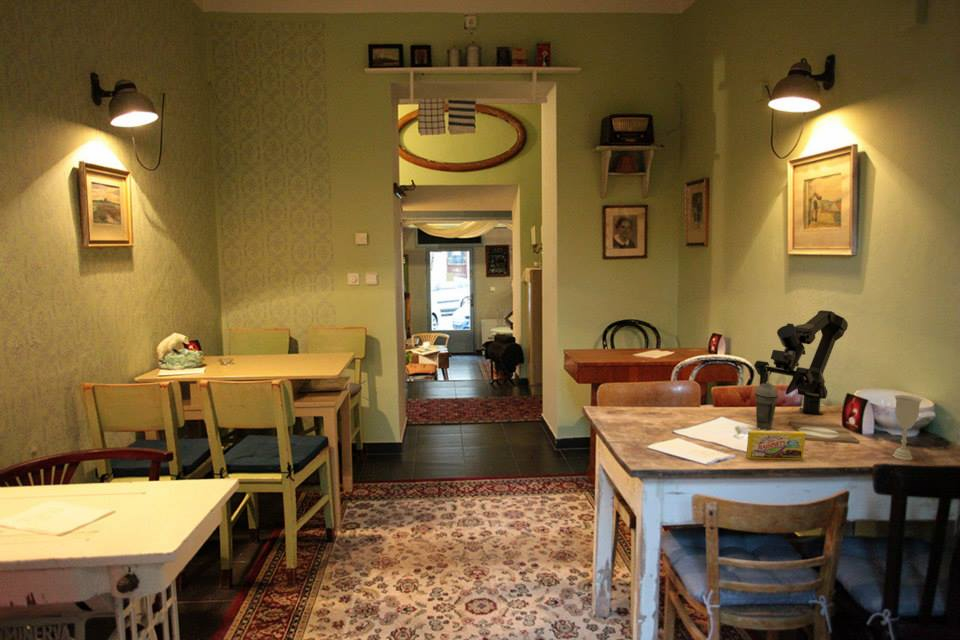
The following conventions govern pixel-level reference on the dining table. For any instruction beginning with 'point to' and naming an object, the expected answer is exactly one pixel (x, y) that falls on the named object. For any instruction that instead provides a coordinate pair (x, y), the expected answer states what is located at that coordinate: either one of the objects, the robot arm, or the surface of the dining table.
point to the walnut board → (824, 431)
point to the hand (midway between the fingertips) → (773, 391)
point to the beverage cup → (765, 404)
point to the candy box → (775, 445)
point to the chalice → (906, 421)
